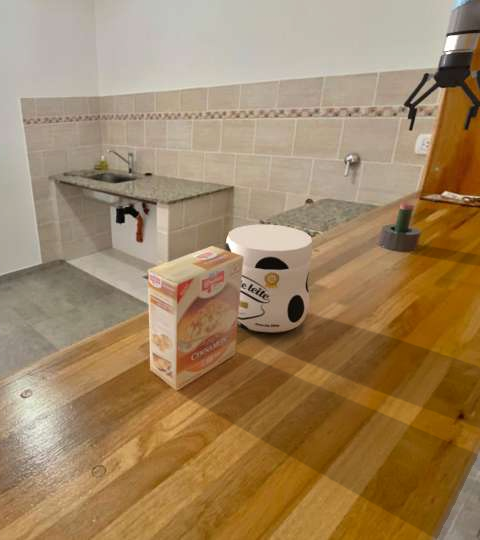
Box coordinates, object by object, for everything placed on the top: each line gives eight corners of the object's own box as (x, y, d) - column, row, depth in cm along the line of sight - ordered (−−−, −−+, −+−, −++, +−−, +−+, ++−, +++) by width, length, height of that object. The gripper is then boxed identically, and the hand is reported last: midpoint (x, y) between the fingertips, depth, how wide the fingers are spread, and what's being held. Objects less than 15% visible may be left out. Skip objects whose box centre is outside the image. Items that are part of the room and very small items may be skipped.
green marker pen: (403, 243, 110) (413, 203, 106) (403, 247, 108) (414, 205, 103) (390, 242, 112) (400, 202, 107) (391, 245, 110) (401, 205, 105)
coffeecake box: (177, 392, 61) (177, 283, 53) (148, 370, 66) (145, 268, 58) (237, 354, 69) (245, 255, 61) (207, 337, 74) (211, 244, 66)
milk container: (213, 335, 75) (217, 250, 68) (221, 294, 90) (225, 221, 82) (310, 347, 69) (326, 256, 62) (301, 302, 84) (313, 224, 77)
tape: (414, 242, 111) (419, 226, 109) (417, 253, 104) (422, 236, 102) (378, 238, 116) (381, 223, 114) (378, 248, 109) (382, 232, 107)
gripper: (512, 48, 107) (487, 128, 116) (404, 57, 120) (388, 129, 128) (520, 46, 102) (493, 130, 110) (406, 56, 114) (389, 131, 122)
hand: (437, 130), depth 119 cm, fingers open, 13 cm apart
